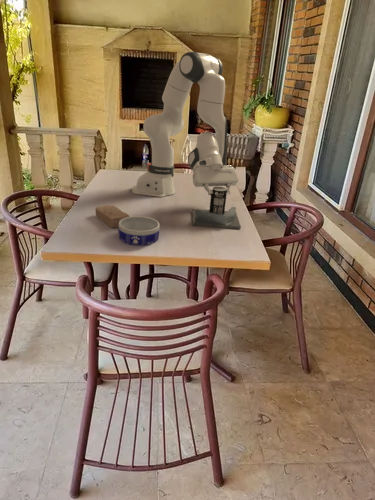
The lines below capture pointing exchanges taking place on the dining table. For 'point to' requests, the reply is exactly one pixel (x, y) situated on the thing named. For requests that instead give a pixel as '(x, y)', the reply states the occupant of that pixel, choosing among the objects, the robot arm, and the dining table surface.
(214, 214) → the v block
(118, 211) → the brick
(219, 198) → the beverage can
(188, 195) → the dining table surface
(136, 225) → the dog bowl
